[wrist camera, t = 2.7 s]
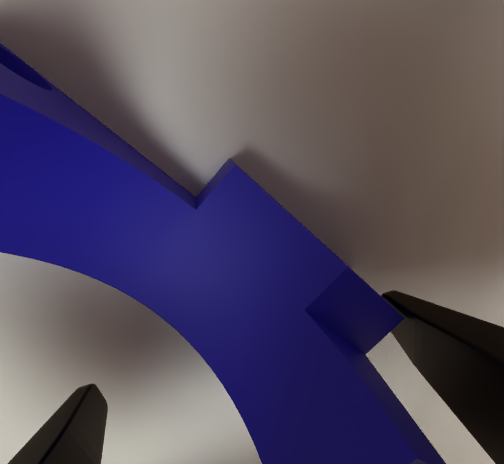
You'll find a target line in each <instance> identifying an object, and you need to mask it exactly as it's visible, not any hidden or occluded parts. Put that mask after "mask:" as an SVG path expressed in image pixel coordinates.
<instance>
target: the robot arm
mask: <svg viewBox="0 0 504 464" xmlns="http://www.w3.org/2000/svg"><path fill="white" fill-rule="evenodd" d="M381 297H382V298H383V299H384V300H386V301H387V302H388V303H389V304H390V305H391V306H392V307H393V308H394V309H395V310H396V311H397V312H399V313H400V314H401V315H402V316H403V317H404V318H405V319H404V320H403V321H401V322H400V323H399V324H398V325H397V326H396V327H395V328H394V329H393V330H392V331H391V332H392V334H393V335H394V337H395V338H396V340H397V341H398V342H399V344H400V345H401V347H402V348H403V350H404V351H405V353H406V354H407V356H408V357H409V359H410V360H411V361H412V363H413V364H414V365H415V367H416V368H417V369H418V371H419V372H420V373H421V374H422V375H423V377H424V378H425V379H426V380H427V381H428V383H429V384H430V385H431V386H432V387H433V389H434V390H435V391H436V392H437V393H438V395H439V396H440V397H441V398H442V400H443V401H444V402H445V403H446V404H447V406H448V407H449V408H450V409H451V410H452V412H453V413H454V414H455V415H456V416H457V418H458V419H459V420H460V421H461V422H462V424H463V425H464V426H465V427H466V428H467V430H468V431H469V432H470V433H471V435H472V436H473V437H474V438H475V439H476V441H477V442H478V443H479V444H480V445H481V447H482V448H483V449H484V450H485V451H486V453H487V454H488V455H489V456H490V457H491V459H492V460H493V461H494V462H495V463H496V464H504V327H501V326H498V325H495V324H492V323H489V322H486V321H483V320H480V319H478V318H475V317H472V316H469V315H466V314H463V313H460V312H457V311H454V310H451V309H448V308H445V307H442V306H439V305H436V304H434V303H431V302H428V301H425V300H422V299H419V298H416V297H413V296H410V295H407V294H404V293H401V292H398V291H395V290H393V291H389V292H386V293H383V294H382V295H381ZM107 411H108V406H107V402H106V400H105V398H104V397H103V395H102V393H101V392H100V390H99V389H98V387H97V386H96V385H95V384H88V385H85V386H82V387H79V388H78V389H77V390H76V391H75V392H74V393H73V394H72V395H71V396H70V397H69V398H68V399H67V400H66V401H65V402H64V403H63V405H62V406H61V407H60V408H59V409H58V410H57V411H56V412H55V413H54V414H53V415H52V416H51V417H50V419H49V420H48V421H47V422H46V423H45V424H44V425H43V426H42V427H41V428H40V429H39V430H38V431H37V433H36V434H35V435H34V436H33V437H32V438H31V439H30V440H29V441H28V442H27V443H26V444H25V446H24V447H23V448H22V449H21V450H20V451H19V452H18V453H17V454H16V455H15V456H14V457H13V458H12V460H11V461H10V462H9V463H8V464H101V459H102V451H103V443H104V435H105V427H106V419H107Z"/></svg>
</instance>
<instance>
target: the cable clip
mask: <svg viewBox="0 0 504 464" xmlns="http://www.w3.org/2000/svg"><path fill="white" fill-rule="evenodd" d="M0 252H2V253H8V254H13V255H18V256H22V257H27V258H32V259H36V260H40V261H44V262H47V263H51V264H55V265H58V266H62V267H65V268H68V269H71V270H74V271H77V272H80V273H82V274H84V275H87V276H89V277H92V278H94V279H97V280H99V281H101V282H104V283H106V284H108V285H110V286H112V287H114V288H116V289H118V290H120V291H122V292H123V293H125V294H127V295H129V296H131V297H132V298H134V299H135V300H137V301H139V302H140V303H142V304H143V305H145V306H146V307H148V308H149V309H151V310H152V311H153V312H155V313H156V314H157V315H159V316H160V317H161V318H163V319H164V320H165V321H166V322H167V323H169V324H170V325H171V326H172V327H173V328H174V329H176V330H177V331H178V332H179V333H180V334H181V335H182V336H183V337H184V338H185V339H186V340H187V341H188V342H189V343H190V344H191V345H192V346H193V347H194V349H195V350H196V351H197V352H198V353H199V354H200V355H201V356H202V358H203V359H204V360H205V361H206V363H207V364H208V365H209V366H210V368H211V369H212V370H213V372H214V373H215V375H216V376H217V377H218V379H219V380H220V382H221V383H222V384H223V386H224V388H225V389H226V391H227V393H228V394H229V396H230V397H231V399H232V401H233V402H234V404H235V406H236V408H237V410H238V412H239V413H240V415H241V417H242V419H243V421H244V423H245V425H246V427H247V429H248V431H249V434H250V436H251V438H252V440H253V442H254V445H255V447H256V449H257V452H258V454H259V457H260V459H261V462H262V464H446V463H445V462H444V460H443V459H442V458H441V456H440V455H439V454H438V452H437V451H436V450H435V448H434V447H433V446H432V444H431V443H430V442H429V440H428V439H427V438H426V436H425V435H424V433H423V432H422V431H421V429H420V428H419V427H418V425H417V424H416V423H415V421H414V420H413V419H412V417H411V416H410V415H409V413H408V412H407V410H406V409H405V408H404V406H403V405H402V404H401V402H400V401H399V400H398V398H397V397H396V396H395V394H394V393H393V392H392V390H391V389H390V387H389V386H388V385H387V383H386V382H385V381H384V379H383V378H382V377H381V375H380V374H379V373H378V371H377V370H376V369H375V367H374V366H373V364H372V363H371V362H370V360H369V359H368V358H367V356H366V355H365V354H366V353H368V352H369V351H370V350H371V349H372V348H373V347H374V346H375V345H376V344H377V343H378V342H380V341H381V340H382V339H383V338H384V337H385V336H386V335H387V334H388V333H389V332H390V331H392V330H393V329H394V328H395V327H396V326H397V325H398V324H399V323H400V322H401V321H403V320H404V319H405V318H404V317H403V316H402V315H401V314H400V313H399V312H397V311H396V310H395V309H394V308H393V307H392V306H391V305H390V304H389V303H388V302H387V301H386V300H384V299H383V298H382V297H381V296H380V295H379V294H378V293H377V292H376V291H375V290H374V289H372V288H371V287H370V286H369V285H368V284H367V283H366V282H365V281H364V280H363V279H362V278H361V277H359V276H358V275H357V274H356V273H355V272H354V271H353V270H352V269H351V268H350V267H349V266H347V265H346V264H345V263H344V262H343V261H342V260H341V259H340V258H339V257H337V256H336V255H335V254H334V253H333V252H332V251H331V250H330V249H329V248H328V247H326V246H325V245H324V244H323V243H322V242H321V241H320V240H319V239H318V238H317V237H315V236H314V235H313V234H312V233H311V232H310V231H309V230H308V229H307V228H305V227H304V226H303V225H302V224H301V223H300V222H299V221H298V220H297V219H296V218H294V217H293V216H292V215H291V214H290V213H289V212H288V211H287V210H286V209H285V208H283V207H282V206H281V205H280V204H279V203H278V202H277V201H276V200H275V199H273V198H272V197H271V196H270V195H269V194H268V193H267V192H266V191H265V190H264V189H262V188H261V187H260V186H259V185H258V184H257V183H256V182H255V181H254V180H253V179H251V178H250V177H249V176H248V175H247V174H246V173H245V172H244V171H243V170H241V169H240V168H239V167H238V166H237V165H236V164H235V163H234V162H233V161H232V160H230V159H228V160H227V162H226V163H225V164H224V165H223V166H222V168H221V169H220V170H219V171H218V172H217V173H216V175H215V176H214V177H213V178H212V179H211V181H210V182H209V183H208V184H207V185H206V186H205V188H204V189H203V190H202V191H201V192H200V194H199V195H198V196H197V197H195V196H193V195H192V194H191V193H190V192H188V191H187V190H186V189H185V188H183V187H182V186H181V185H179V184H178V183H177V182H176V181H174V180H173V179H172V178H171V177H169V176H168V175H167V174H166V173H164V172H163V171H162V170H160V169H159V168H158V167H157V166H155V165H154V164H153V163H152V162H150V161H149V160H148V159H147V158H145V157H144V156H143V155H141V154H140V153H139V152H138V151H136V150H135V149H134V148H133V147H131V146H130V145H129V144H127V143H126V142H125V141H124V140H122V139H121V138H120V137H119V136H117V135H116V134H115V133H114V132H112V131H111V130H110V129H108V128H107V127H106V126H105V125H103V124H102V123H101V122H100V121H98V120H97V119H96V118H95V117H93V116H92V115H91V114H89V113H88V112H87V111H86V110H84V109H83V108H82V107H81V106H79V105H78V104H77V103H75V102H74V101H73V100H72V99H70V98H69V97H68V96H67V95H65V94H64V93H63V92H62V91H60V90H59V89H58V88H56V87H55V86H54V85H53V84H51V83H50V82H49V81H48V80H46V79H45V78H44V77H43V76H41V75H40V74H39V73H37V72H36V71H35V70H34V69H32V68H31V67H30V66H29V65H27V64H26V63H25V62H23V61H22V60H21V59H20V58H18V57H17V56H16V55H15V54H13V53H12V52H11V51H10V50H8V49H7V48H6V47H4V46H3V45H2V44H1V43H0Z"/></svg>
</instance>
